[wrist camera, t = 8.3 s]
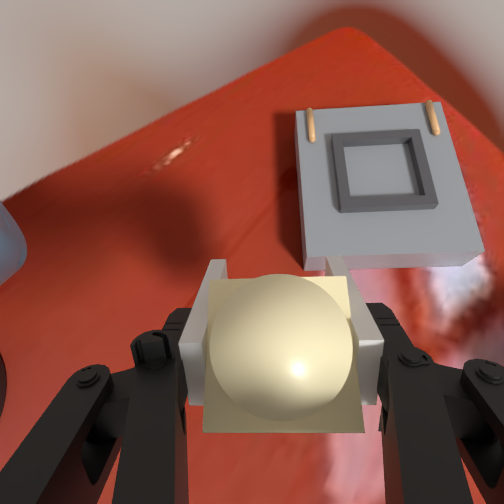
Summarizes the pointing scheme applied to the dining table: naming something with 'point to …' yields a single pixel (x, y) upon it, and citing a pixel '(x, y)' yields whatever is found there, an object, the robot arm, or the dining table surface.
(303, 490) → the dining table surface
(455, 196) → the ball-topped post base
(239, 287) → the dome-topped cream pillar
